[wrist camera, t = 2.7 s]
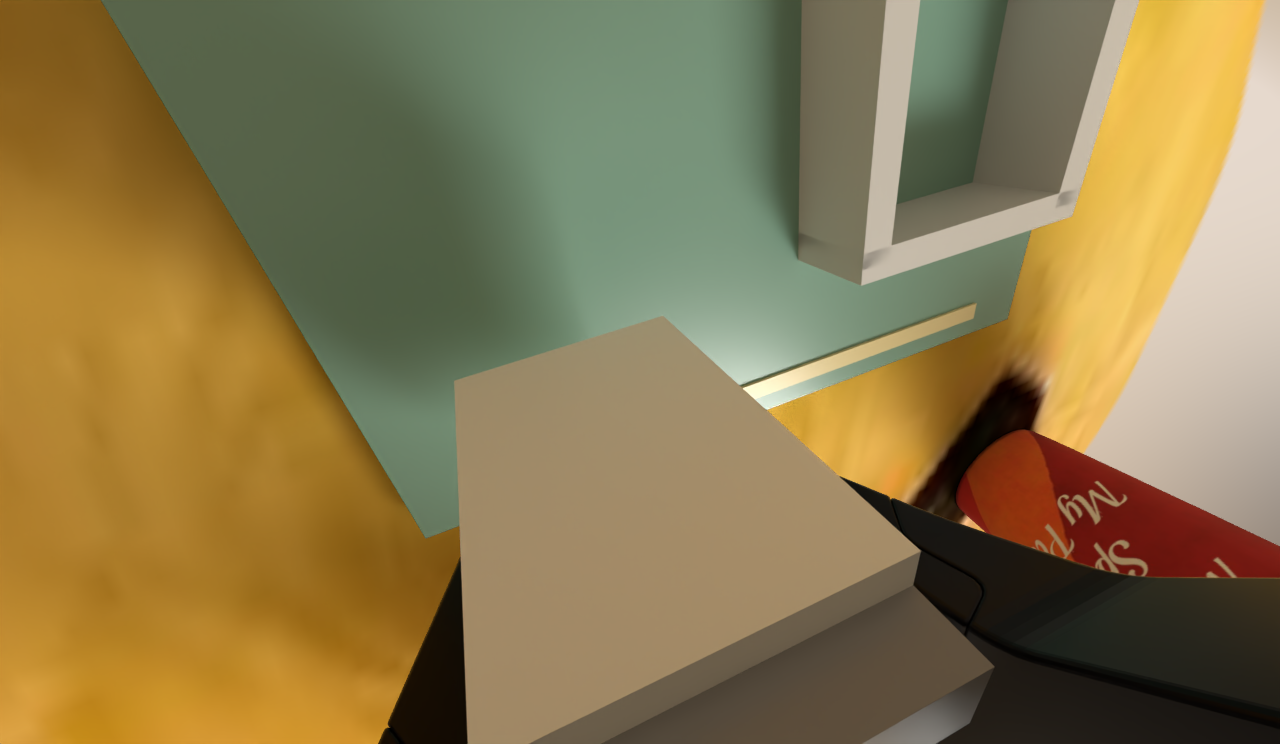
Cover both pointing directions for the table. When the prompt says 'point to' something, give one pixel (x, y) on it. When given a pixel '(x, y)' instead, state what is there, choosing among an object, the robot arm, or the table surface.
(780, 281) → the board
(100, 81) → the table surface
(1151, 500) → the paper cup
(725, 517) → the plug
